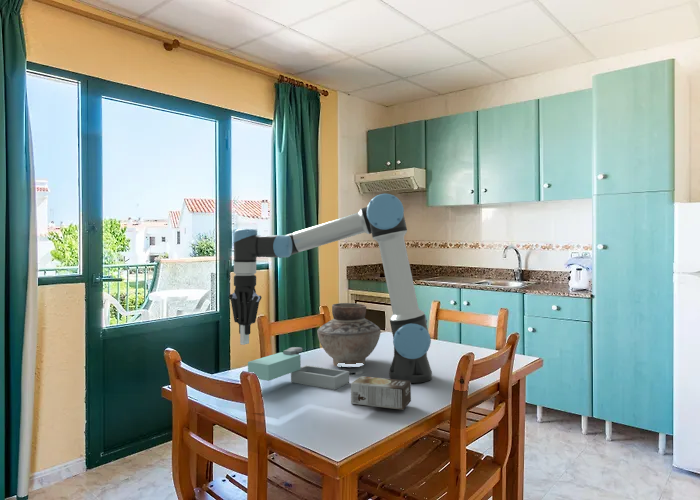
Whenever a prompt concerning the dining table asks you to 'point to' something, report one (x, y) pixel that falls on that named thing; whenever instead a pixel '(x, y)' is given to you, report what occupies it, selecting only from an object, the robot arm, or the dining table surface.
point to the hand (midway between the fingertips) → (244, 343)
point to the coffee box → (381, 392)
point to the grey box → (320, 377)
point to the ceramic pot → (349, 334)
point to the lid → (276, 364)
